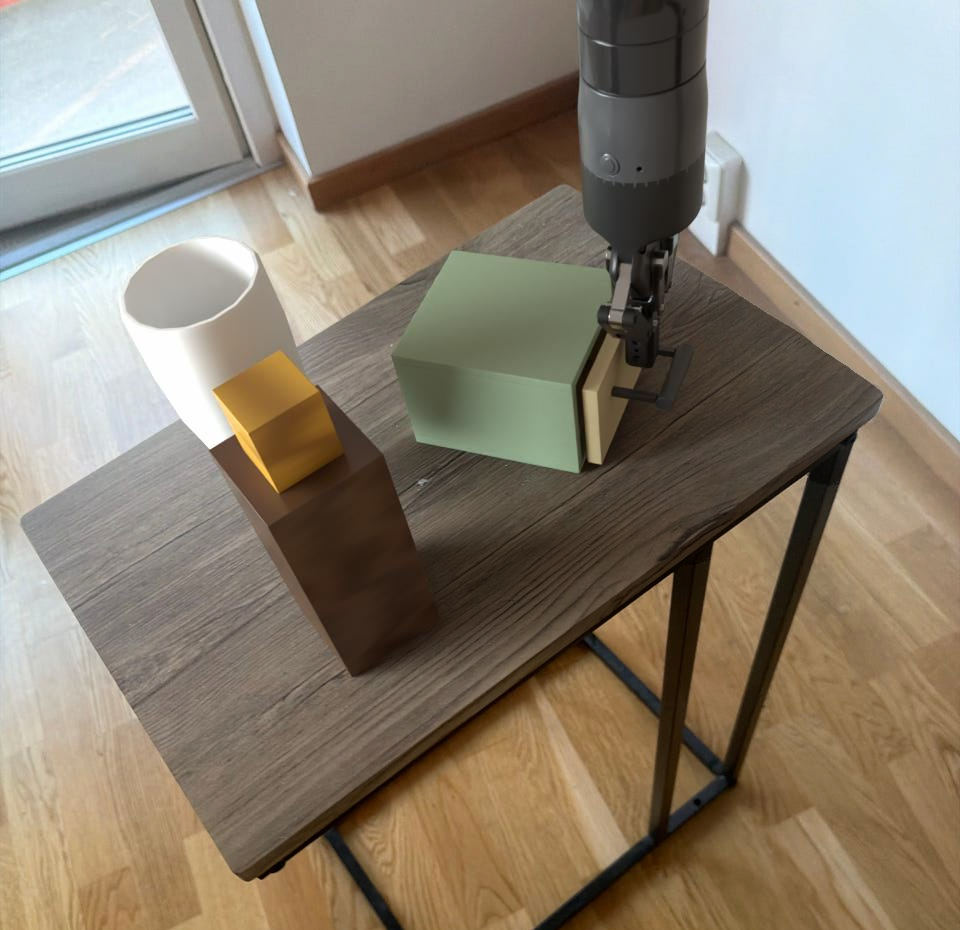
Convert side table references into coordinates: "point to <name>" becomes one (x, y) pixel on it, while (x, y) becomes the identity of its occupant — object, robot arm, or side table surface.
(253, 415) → the block
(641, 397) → the drawer
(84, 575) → the side table surface
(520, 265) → the cabinet
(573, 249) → the side table surface
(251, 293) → the cup
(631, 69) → the robot arm
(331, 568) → the stand
